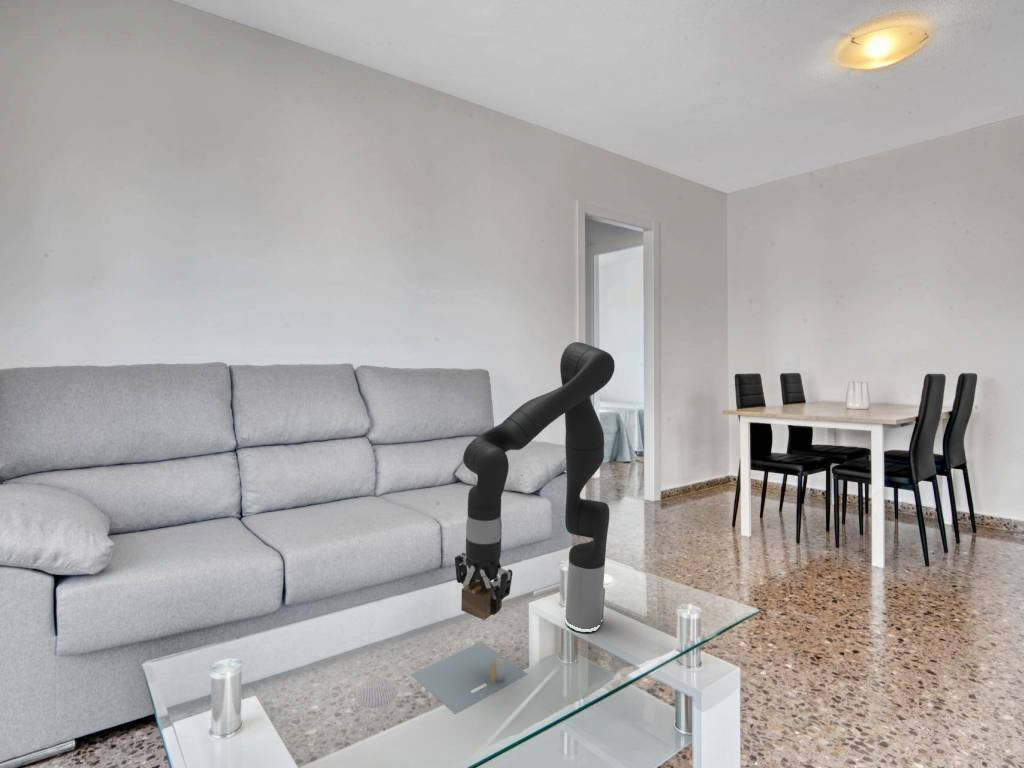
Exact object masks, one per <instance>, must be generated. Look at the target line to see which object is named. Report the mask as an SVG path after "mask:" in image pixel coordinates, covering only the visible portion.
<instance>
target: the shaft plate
mask: <svg viewBox="0 0 1024 768" xmlns="http://www.w3.org/2000/svg"><path fill="white" fill-rule="evenodd" d="M527 675H528V673H527V672H525V671H524V670H523V669H521V668H520V667H518V666H517V665H516V664H514V663H513V662H511V661H510V660H508V659H507V658H505V657H504V656H503V655H502V654H500V653H499V652H497V651H496V650H494V649H493V648H492V647H490V646H488V645H487V644H486V643H484V642H483V641H479V642H477V643H475V644H473V645H471V646H469V647H467V648H464V649H462V650H460V651H458V652H456V653H454V654H452V655H449V656H447V657H445V658H443V659H441V660H438V661H436V662H434V663H432V664H430V665H428V666H426V667H424V668H422V669H420V670H417V671H416V672H414V673H411V674H410V676H411V677H412V678H413V679H414V680H416V681H417V682H418V683H420V685H421V686H422V687H424V688H425V689H426V690H427V691H428V692H429V693H431V694H432V695H433V697H435V698H436V699H437V700H439V701H440V702H441V703H442V704H443V705H444V706H445V707H446V708H447V709H449V710H450V711H451V712H452V713H453V714H454V715H457V714H459V713H461V712H462V711H464V710H465V709H468V708H470V707H471V706H473V705H475V704H476V703H479V702H480V701H482V700H484V699H486V698H487V697H490V696H491V695H494V693H497V692H498V691H501V690H502V689H504V688H505V687H507V686H509V685H511V684H513V683H514V682H516V681H518V680H520V679H521V678H524V677H525V676H527Z"/></svg>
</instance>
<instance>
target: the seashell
mask: <svg viewBox="0 0 1024 768" xmlns="http://www.w3.org/2000/svg"><path fill="white" fill-rule="evenodd" d="M355 692H356V693H355V694H354V697H355V701H356V703H357V704H358V705H359V706H362V707H363V708H364V707H365V708H369V709H378V708H379V707H380V706H381V705H382V706H383V705H384V704H385V705H387V706H388V704H389V705H390V704H391V703H392V702H394V701H395V700H396V698H397V697H398V694H399V686H397V684H396V683H395V682H393V681H392V680H391V679H389V678H388V677H387V676H384V675H382V674H379V673H378V674H377V673H373V674H371V675H369V676H367V677H366V678H365V679H364V680H363V682H362V683H361V685H360V687H359V688H358V689H357V691H355ZM385 705H384V706H385ZM382 706H381V707H382ZM381 707H380V708H381Z"/></svg>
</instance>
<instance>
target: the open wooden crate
mask: <svg viewBox="0 0 1024 768" xmlns="http://www.w3.org/2000/svg"><path fill="white" fill-rule="evenodd" d="M490 582H491V583H492V582H493V581H490ZM494 589H495V588H494ZM495 592H496V589H495ZM491 598H492V597H491V594H490V592H489V590H488V589H487V588H486V585H485V583H483V582H482V581H480V580H475V581H474V582H472V583H470V584H469V585H467V586H465V587H462V588H461V603H460V604H461V611H462V612H464V613H467V614H469V615H472V616H474V617H476V618H478V619H481V620H483V621H485V620H487V619H488V618H489V617H491V616H493V615H492V614H490V607H491ZM502 600H503V599H502ZM502 600H501V608H502V607H503V606H502V605H503V601H502Z"/></svg>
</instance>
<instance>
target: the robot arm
mask: <svg viewBox="0 0 1024 768" xmlns="http://www.w3.org/2000/svg"><path fill="white" fill-rule="evenodd" d="M559 366H560V367H559V369H560V371H559V372H560V379H561V386H560V387H557V388H556V389H553V390H551V391H549V392H546V393H544V394H542V395H539V396H537V397H534V398H532V399H530V400H528V401H526V402H525V403H522V404H521V406H519V407H518V408H517V409H515V411H513V412H512V413H510V415H509V416H508V417H506V419H504V420H503V421H502V422H501V423H500V424H497V425H495V426H494V427H492V428H490V429H489V430H487V431H485V432H483V433H481V434H480V435H478V436H476V438H474V439H473V440H471V441H470V443H469V444H467V446H466V448H465V449H464V453H463V457H462V459H463V464H464V466H465V467H466V468H467V469H468V470H469V471H470V472H472V473H474V474H475V475H476V476H477V483H476V485H474V486H472V487H471V488H470V489H469V491H468V494H467V516H466V517H467V518H466V522H465V523H466V524H465V525H466V526H465V552H461V553H460V554H458V555H457V556H455V557H454V565H455V576H456V582H457V583H458V584H462V588H464V587H465V586H467V585H469V584H470V583H472V582H474V581H475V580H480V581H482V582H483V583H485V585H486V588H487V589H488V590H489V592H490V594H491V597H492V598H491V607H490V614H492V615H491V616H496V614H497V613H498V612H500V611H501V600H504V599H505V598H506V597H508V596H510V594H511V586H512V579H513V570H512V569H507V570H506V569H504V568H502V566H501V563H500V560H501V556H502V555H501V554H502V536H503V535H502V534H503V533H502V532H503V531H502V530H503V528H502V527H503V524H502V496H503V493H504V489H505V485H506V482H507V480H508V479H507V478H508V475H509V458H508V455H507V454H506V453H507V452H508V451H520V450H522V449H523V448H525V447H526V446H527V445H528V444H529V443H531V441H533V440H534V439H536V437H537V436H538V435H539V434H540V433H542V432H543V430H544V429H546V428H548V426H549V425H550V424H551V423H553V422H555V420H557V419H558V418H560V417H561V416H562V415H564V422H565V424H564V425H565V435H564V436H565V437H564V440H565V441H564V443H565V462H566V464H565V465H566V495H565V512H564V513H565V516H564V520H565V521H564V522H565V530H566V531H567V532H568V533H569V534H571V535H574V536H579V537H583V538H590V539H592V540H590V541H588V542H584V543H578V544H576V545H573V546H572V547H571V548H570V550H569V553H568V567H567V568H568V570H567V571H568V572H567V587H566V600H565V602H566V604H565V618H566V620H567V622H568V623H569V624H571V625H573V626H575V627H578V628H581V629H591V628H594V627H597V626H598V625H600V623H601V620H602V619H603V620H604V613H605V600H606V598H605V596H606V588H605V587H604V583H605V568H606V567H605V566H606V565H605V564H606V555H607V554H606V552H607V539H608V533H609V523H610V508H609V505H608V503H607V502H603V501H598V500H592V499H584V498H581V493H582V491H583V489H584V488H585V486H586V484H588V482H589V481H590V479H591V478H592V477H593V476H594V475H595V474H596V473H597V471H598V470H599V469H600V467H601V466H602V463H603V462H604V457H605V434H604V429H603V427H602V424H601V421H600V419H599V416H598V414H597V411H596V410H595V408H594V406H593V403H592V400H591V399H592V398H591V396H593V395H595V394H596V393H597V392H599V391H600V390H602V389H603V388H604V387H605V386H607V384H608V383H609V382H610V381H611V379H612V378H613V376H614V373H615V367H616V366H615V359H614V358H613V356H612V354H610V353H609V352H607V351H605V350H603V349H600V348H598V347H596V346H593V345H589V344H586V343H584V342H580V341H574V342H571V343H570V344H568V345H567V346H566V347H565V349H564V351H563V352H562V354H561V358H560V365H559ZM491 582H492V583H491ZM494 588H495V589H496V592H495V589H494ZM601 624H602V623H601Z"/></svg>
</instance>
